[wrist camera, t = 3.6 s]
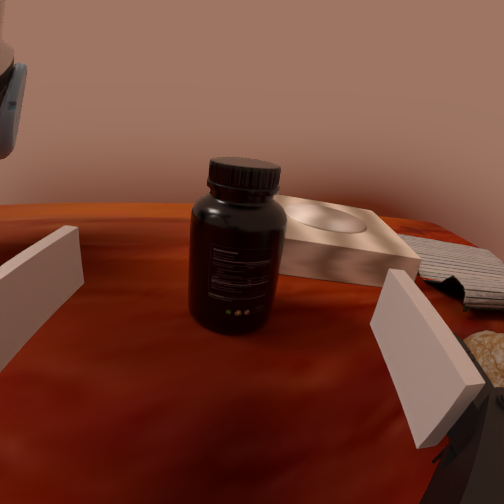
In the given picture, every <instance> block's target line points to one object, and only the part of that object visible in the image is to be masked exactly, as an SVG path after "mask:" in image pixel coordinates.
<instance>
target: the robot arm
mask: <svg viewBox="0 0 504 504" xmlns="http://www.w3.org/2000/svg"><path fill="white" fill-rule="evenodd" d="M4 7H5V0H0V159H4V158H6V157H7V156H8V155H9V154H10V153H11V152H12V150H13V149H14V146H15V142H16V138H17V132H18V126H19V120H20V114H21V107H22V101H23V96H24V89H25V83H26V75H27V66H26V65H25V64H21V63H17V64H15V65H14V49H13V47H12V46H11V45H10V44H9V43H7V42H5V41H4V40H2V27H3V16H4ZM83 284H84V277H83V269H82V261H81V252H80V242H79V231H78V227H74V226H66V225H65V226H63V227H62V228H60V229H58V230H56V231H55V232H53V233H51V234H50V235H48V236H46V237H45V238H43V239H41V240H40V241H38V242H37V243H35V244H33V245H32V246H30V247H29V248H27V249H26V250H24V251H22V252H21V253H19V254H18V255H16V256H15V257H13V258H12V259H10V260H9V261H7V262H6V263H4V264H3V265H1V266H0V372H1V371H2V370H3V369H4V367H5V366H6V365H7V364H8V363H9V362H10V360H11V359H12V358H13V357H14V356H15V355H16V354H17V352H18V351H19V350H20V349H21V348H22V347H23V346H24V345H25V343H26V342H27V341H28V340H29V339H30V338H31V337H32V336H33V335H34V334H35V333H36V332H37V330H38V329H39V328H40V327H41V326H42V325H43V324H44V323H45V322H46V321H47V320H48V319H49V318H50V317H51V316H52V315H53V314H54V313H55V312H56V311H57V310H58V309H59V308H60V307H61V306H62V305H63V304H64V303H65V302H66V301H67V300H68V299H69V298H70V297H71V296H72V295H73V294H74V293H75V292H76V291H77V290H78V289H79V288H80V287H81V286H82V285H83ZM370 326H371V328H372V331H373V333H374V335H375V338H376V340H377V342H378V345H379V347H380V350H381V352H382V355H383V357H384V359H385V362H386V364H387V367H388V369H389V372H390V375H391V377H392V380H393V382H394V385H395V388H396V390H397V393H398V396H399V398H400V401H401V404H402V407H403V409H404V412H405V415H406V418H407V421H408V424H409V426H410V429H411V432H412V435H413V438H414V441H415V444H416V448H417V449H420V448H426V447H432V446H437V445H438V443H439V442H440V441H441V440H442V439H443V438H444V437H445V435H446V434H447V435H448V437H449V440H450V442H449V444H448V445H447V446H446V447H445V448H444V449H443V450H442V451H441V452H440V453H439V454H438V455H437V456H436V457H435V458H434V460H433V461H432V463H435V462H436V461H437V460H438V459H440V458H441V459H440V461H439V463H438V466H437V468H436V470H435V472H434V475H433V477H432V479H431V481H430V483H429V485H428V487H427V489H426V491H425V493H424V495H423V497H422V499H421V501H420V503H419V504H504V387H494V386H493V384H492V383H491V381H490V379H489V378H488V376H487V375H486V373H485V372H484V370H483V369H482V367H481V366H480V364H479V363H478V361H476V358H475V357H474V355H473V354H472V353H471V351H470V349H469V348H468V347H467V345H466V344H465V342H464V341H463V340H462V339H460V338H459V337H458V336H457V335H456V334H454V333H452V332H451V330H450V329H449V327H448V326H447V325H446V323H445V322H444V321H443V319H442V318H441V317H440V315H439V314H438V312H437V311H436V310H435V309H434V307H433V306H432V305H431V303H430V302H429V301H428V299H427V298H426V297H425V295H424V294H423V293H422V292H421V290H420V289H419V288H418V287H417V285H416V284H415V283H414V282H413V280H412V279H411V278H410V277H409V275H408V274H407V273H406V272H405V271H404V270H397V269H390V268H389V269H388V273H387V276H386V279H385V282H384V285H383V288H382V291H381V294H380V297H379V300H378V303H377V306H376V309H375V311H374V314H373V317H372V320H371V322H370Z"/></svg>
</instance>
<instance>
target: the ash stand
mask: <svg viewBox="0 0 504 504" xmlns="http://www.w3.org/2000/svg"><path fill="white" fill-rule="evenodd" d="M274 200H275V201H276V202H278V203H279V204H280V205H281V206H282V207H283V209H284V211H285V213H286V216H287V229H286V235H285V241H284V247H283V253H282V258H281V264H280V270H279V274H284V275H291V276H299V277H306V278H314V279H321V280H329V281H337V282H345V283H353V284H361V285H369V286H378V287H383V285H384V282H385V279H386V276H387V273H388V269H389V268H390V269H397V270H404V271H405V272H406V273H407V274H408V275H409V277H410V278H411V279H412V280H413V282H414V281H415V278H416V275H417V273H418V270H419V267H420V264H421V261H422V259H421V258H420V257H419V256H418V255H417V254H416V253H415V252H414V251H413V250H412V249H411V248H410V247H409V246H408V245H407V244H406V243H405V242H404V241H403V240H402V239H401V238H400V237H399V236H398V235H397V234H396V233H395V232H394V231H393V230H392V229H391V228H390V227H389V226H388V225H387V224H385V223H384V222H383V221H382V220H381V219H380V218H379V217H378V216H377V215H376V214H375V213H373V212H372V211H370V210H364V209H359V208H354V207H349V206H343V205H337V204H332V203H326V202H320V201H314V200H307V199H302V198H294V197H289V196H282V195H274Z"/></svg>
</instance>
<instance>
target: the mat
mask: <svg viewBox="0 0 504 504" xmlns="http://www.w3.org/2000/svg"><path fill="white" fill-rule="evenodd" d="M397 235H398V236H399V237H400V238H401V239H402V240H403V241H404V242H405V243H406V244H407V245H408V246H409V247H410V248H411V249H412V250H413V251H414V252H415V253H416V254H417V255H418V256H419V257H420V258H421V259H422V261H421V264H420V267H419V270H418V274H419V276H420V277H424V278H431V279H437V280H443V281H437V280H423V279H422V280H423V281H425V282H430V283H438V284H446V283H450V282H452V283H460V284H461V285H462V286H463V289H464V292H465V294H464V300H463V306H464V309H463V312H465V311H467V310H469V309H475V310H492V311H504V263H503V262H502V261H500V260H499V259H498V258H497V257H496V256H495V255H493V254H492V253H491V252H490V251H488V250H486V249H481V248H475V247H470V246H465V245H460V244H454V243H449V242H443V241H437V240H432V239H426V238H420V237H414V236H407V235H402V234H397Z"/></svg>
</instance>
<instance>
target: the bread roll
mask: <svg viewBox="0 0 504 504" xmlns="http://www.w3.org/2000/svg"><path fill="white" fill-rule="evenodd" d="M463 341H464V342H465V344H466V345H467V347H468V348H469V349H470V351H471V353H472V354H473V355H474V357H475V358H476V361H478V363H479V364H480V366H481V367H482V369H483V370H484V372H485V373H486V375H487V376H488V378H489V379H490V381H491V383H492V384H493V386H494V387H504V334H502V333H495V332H491V331H487V330H486V331H483V332H478V333H475V334H472V335H471V336H469V337H467V338H466V339H464V340H463Z"/></svg>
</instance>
